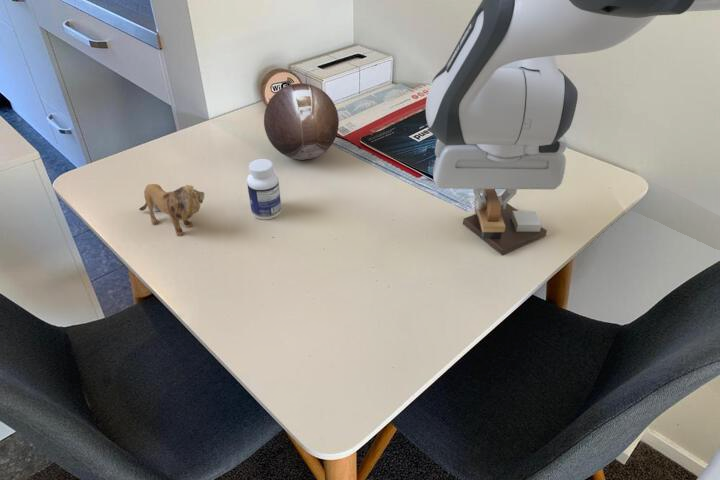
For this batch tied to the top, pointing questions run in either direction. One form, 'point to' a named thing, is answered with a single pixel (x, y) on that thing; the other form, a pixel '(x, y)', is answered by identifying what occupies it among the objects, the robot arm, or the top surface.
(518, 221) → the chalk block
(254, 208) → the pill bottle
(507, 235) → the board
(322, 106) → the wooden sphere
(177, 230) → the lion figurine
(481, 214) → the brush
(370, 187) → the top surface
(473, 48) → the robot arm
